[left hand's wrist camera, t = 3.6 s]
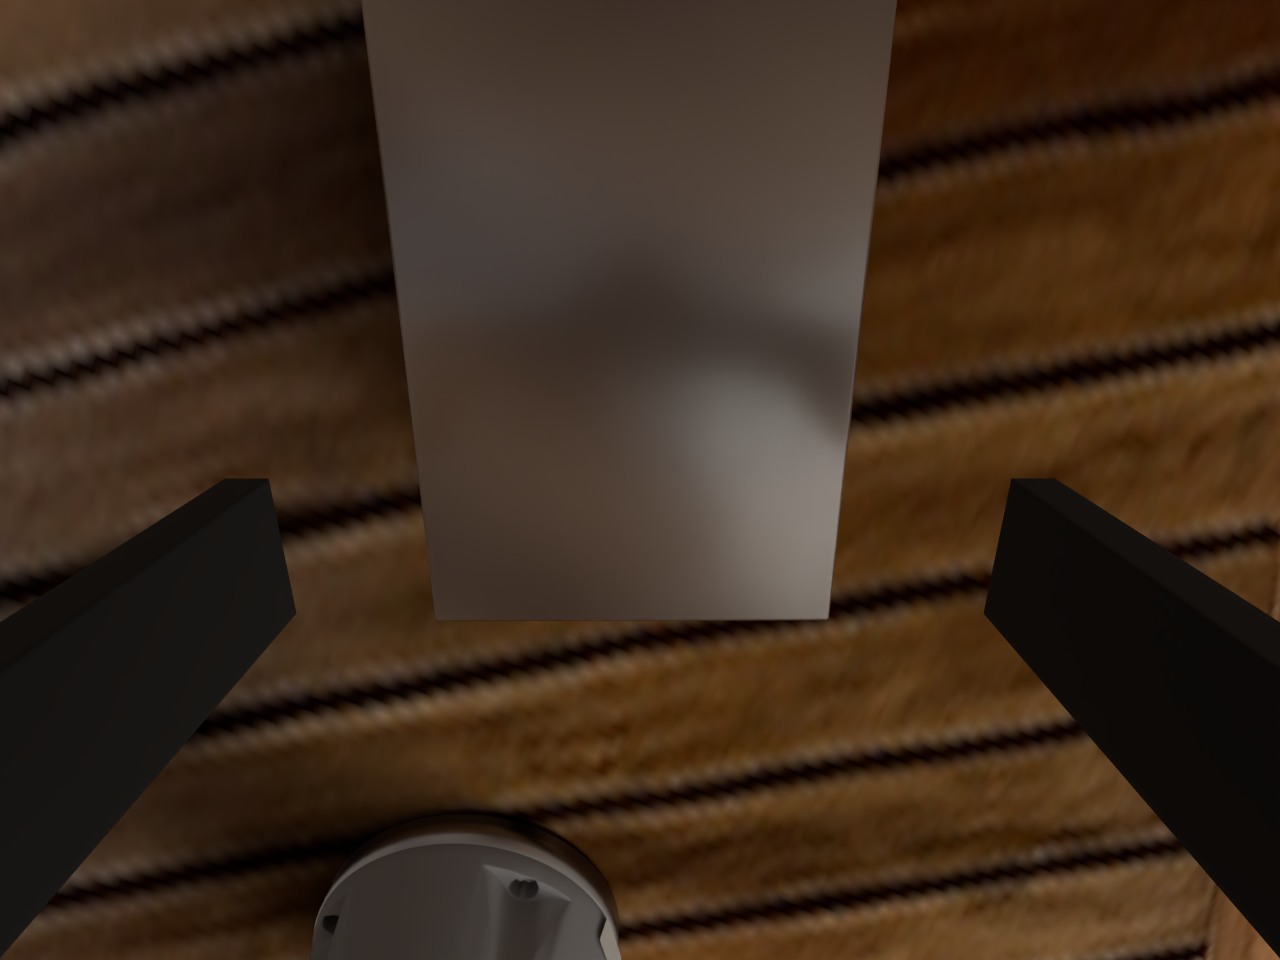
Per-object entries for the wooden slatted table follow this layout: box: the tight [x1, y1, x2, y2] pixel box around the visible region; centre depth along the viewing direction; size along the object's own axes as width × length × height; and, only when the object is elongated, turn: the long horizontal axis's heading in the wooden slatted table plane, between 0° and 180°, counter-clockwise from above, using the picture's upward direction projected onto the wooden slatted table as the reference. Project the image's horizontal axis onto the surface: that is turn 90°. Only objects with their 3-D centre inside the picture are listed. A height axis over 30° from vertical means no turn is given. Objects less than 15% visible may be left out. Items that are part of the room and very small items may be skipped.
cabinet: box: [361, 0, 897, 621], centre depth 20 cm, size 18×11×10 cm, turn 0°
